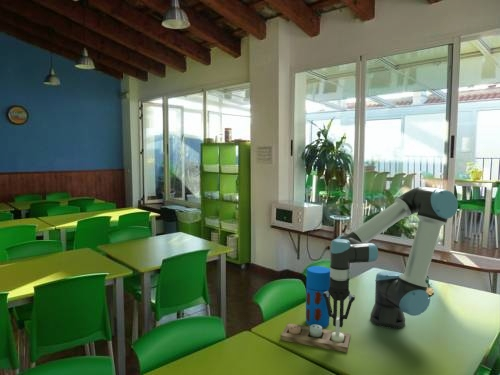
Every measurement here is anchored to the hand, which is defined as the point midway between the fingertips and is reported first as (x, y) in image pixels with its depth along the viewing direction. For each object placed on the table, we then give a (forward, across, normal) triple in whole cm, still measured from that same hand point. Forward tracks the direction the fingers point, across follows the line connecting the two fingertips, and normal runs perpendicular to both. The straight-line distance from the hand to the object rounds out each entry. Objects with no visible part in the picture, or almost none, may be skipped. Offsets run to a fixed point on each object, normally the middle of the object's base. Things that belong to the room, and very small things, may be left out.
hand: (337, 333), depth 152 cm
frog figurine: (+4, -38, -75) cm, 85 cm away
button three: (+4, +18, 0) cm, 18 cm away
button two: (+2, +9, 0) cm, 9 cm away
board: (+4, +9, 0) cm, 10 cm away
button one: (+4, 0, 0) cm, 4 cm away
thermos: (+4, +11, -16) cm, 20 cm away
